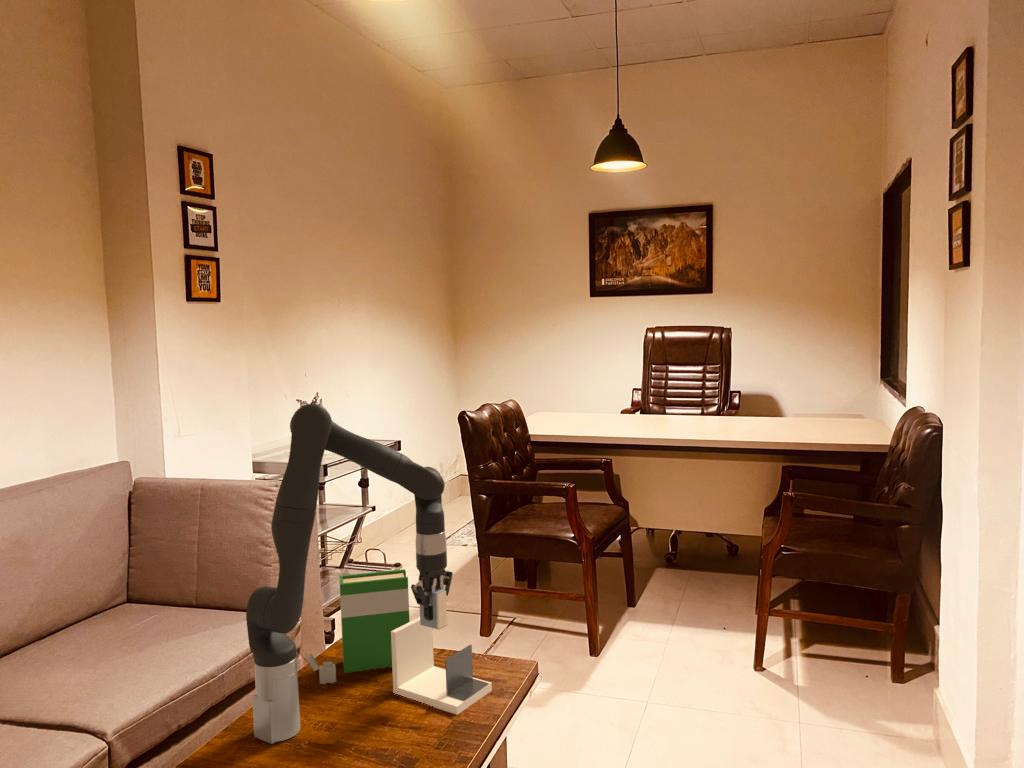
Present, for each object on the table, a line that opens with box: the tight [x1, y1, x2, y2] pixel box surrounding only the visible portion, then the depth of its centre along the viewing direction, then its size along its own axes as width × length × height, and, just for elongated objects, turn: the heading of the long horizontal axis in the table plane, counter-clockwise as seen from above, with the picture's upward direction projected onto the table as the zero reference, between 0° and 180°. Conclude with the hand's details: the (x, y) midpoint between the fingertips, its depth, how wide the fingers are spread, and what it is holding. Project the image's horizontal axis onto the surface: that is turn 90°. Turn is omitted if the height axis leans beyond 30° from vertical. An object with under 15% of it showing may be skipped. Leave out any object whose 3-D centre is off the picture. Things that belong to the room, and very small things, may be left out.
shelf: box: [391, 616, 493, 716], centre depth 196 cm, size 14×20×16 cm
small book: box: [419, 589, 448, 631], centre depth 196 cm, size 3×6×9 cm, turn 56°
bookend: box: [444, 644, 489, 701], centre depth 193 cm, size 10×5×9 cm, turn 146°
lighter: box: [305, 652, 337, 685], centre depth 203 cm, size 7×2×8 cm, turn 105°
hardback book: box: [338, 568, 411, 674], centre depth 214 cm, size 18×7×24 cm, turn 104°
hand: (433, 616), depth 196 cm, fingers closed on small book, 3 cm apart
